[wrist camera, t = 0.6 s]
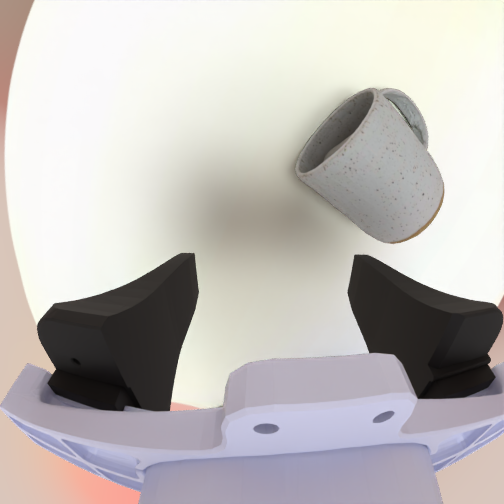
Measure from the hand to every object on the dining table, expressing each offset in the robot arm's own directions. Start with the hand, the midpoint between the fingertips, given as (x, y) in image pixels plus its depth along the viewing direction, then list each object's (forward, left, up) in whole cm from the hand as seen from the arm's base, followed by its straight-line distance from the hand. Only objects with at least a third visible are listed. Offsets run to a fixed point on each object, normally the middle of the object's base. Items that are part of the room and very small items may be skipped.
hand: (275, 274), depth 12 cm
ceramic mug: (+5, -7, -10) cm, 14 cm away
